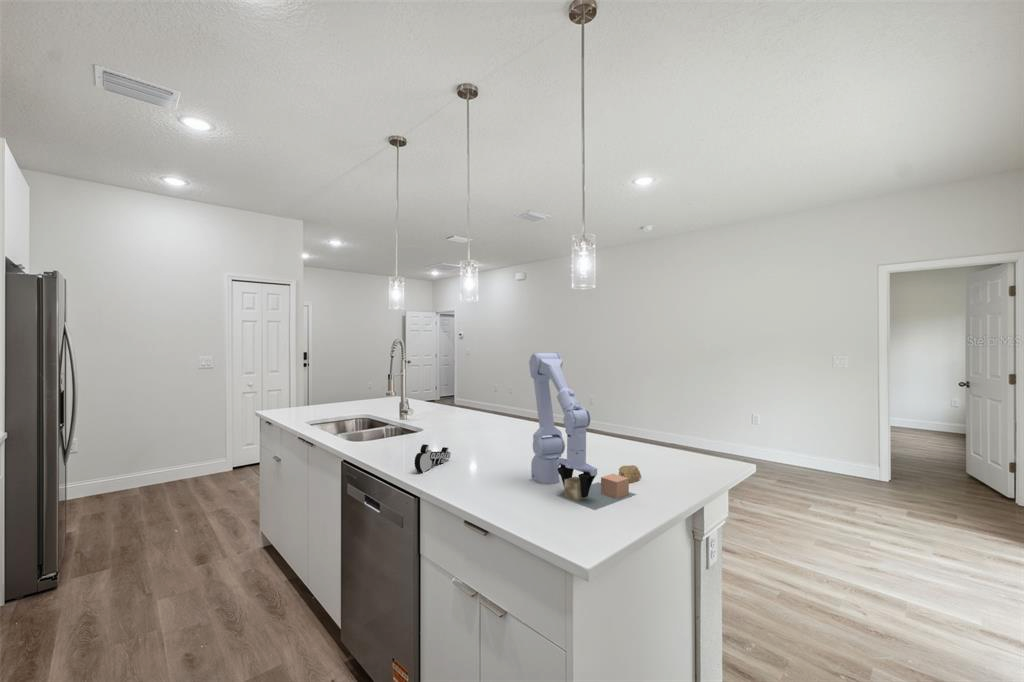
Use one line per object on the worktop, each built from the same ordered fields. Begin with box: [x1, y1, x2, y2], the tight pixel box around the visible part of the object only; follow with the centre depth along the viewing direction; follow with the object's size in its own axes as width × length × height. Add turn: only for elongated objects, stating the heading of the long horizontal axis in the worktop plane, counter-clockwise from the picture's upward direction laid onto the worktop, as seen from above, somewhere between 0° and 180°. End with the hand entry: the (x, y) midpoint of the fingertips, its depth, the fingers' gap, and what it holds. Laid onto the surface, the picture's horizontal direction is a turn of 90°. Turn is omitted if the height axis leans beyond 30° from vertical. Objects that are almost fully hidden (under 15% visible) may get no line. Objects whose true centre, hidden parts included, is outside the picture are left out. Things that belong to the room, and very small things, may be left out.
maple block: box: [563, 475, 586, 501], centre depth 132 cm, size 5×5×5 cm
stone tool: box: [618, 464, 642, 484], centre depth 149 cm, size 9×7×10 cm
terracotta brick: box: [600, 473, 630, 499], centre depth 134 cm, size 6×6×5 cm
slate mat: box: [556, 481, 637, 511], centre depth 133 cm, size 15×20×1 cm
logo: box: [414, 443, 452, 473], centre depth 165 cm, size 21×2×10 cm, turn 157°
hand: (576, 493), depth 132 cm, fingers open, 6 cm apart
